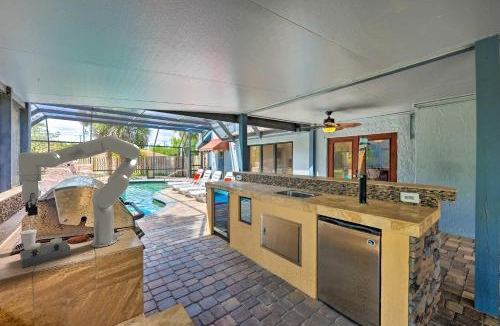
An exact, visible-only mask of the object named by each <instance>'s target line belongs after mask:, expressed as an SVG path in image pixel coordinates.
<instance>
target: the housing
mask: <svg viewBox="0 0 500 326" xmlns="http://www.w3.org/2000/svg"><path fill="white" fill-rule="evenodd" d="M71 254H72V251H71V246H70V244H68V242H67V241H66V240H62V242H61V243H59V247H56V248H54V245H51V243H49V244H46V245H43V246H42V245H41V247H40V248H38V249H37V252H36V253H32V250H21V251H20V252H19V257H20V262H21V266H22V269H25V268H28V267H33V266H36V265H39V264H42V263H47V262H50V261H55V260H57V259H60V258H65V257H68V256H71Z"/></svg>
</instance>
